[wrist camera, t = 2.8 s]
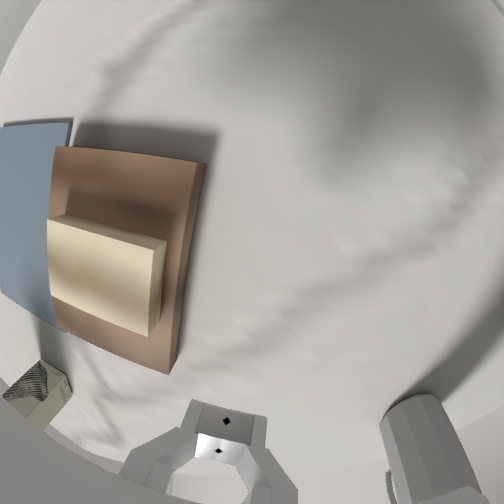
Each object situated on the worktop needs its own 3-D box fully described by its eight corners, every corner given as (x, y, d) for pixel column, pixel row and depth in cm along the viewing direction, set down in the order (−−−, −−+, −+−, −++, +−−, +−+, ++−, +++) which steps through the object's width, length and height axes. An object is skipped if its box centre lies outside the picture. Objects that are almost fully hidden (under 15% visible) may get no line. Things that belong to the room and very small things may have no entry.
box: (66, 373, 25) (9, 438, 12) (73, 395, 26) (25, 458, 14) (39, 356, 25) (-18, 411, 13) (46, 379, 26) (-3, 433, 14)
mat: (2, 127, 17) (0, 127, 16) (72, 122, 16) (69, 122, 16) (3, 291, 23) (1, 292, 22) (67, 330, 22) (65, 332, 22)
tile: (64, 214, 16) (47, 219, 15) (167, 241, 16) (153, 250, 14) (65, 285, 18) (50, 295, 16) (159, 321, 18) (147, 336, 16)
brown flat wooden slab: (71, 146, 17) (55, 146, 15) (206, 163, 17) (197, 162, 15) (68, 316, 22) (56, 325, 20) (176, 360, 21) (168, 374, 19)
